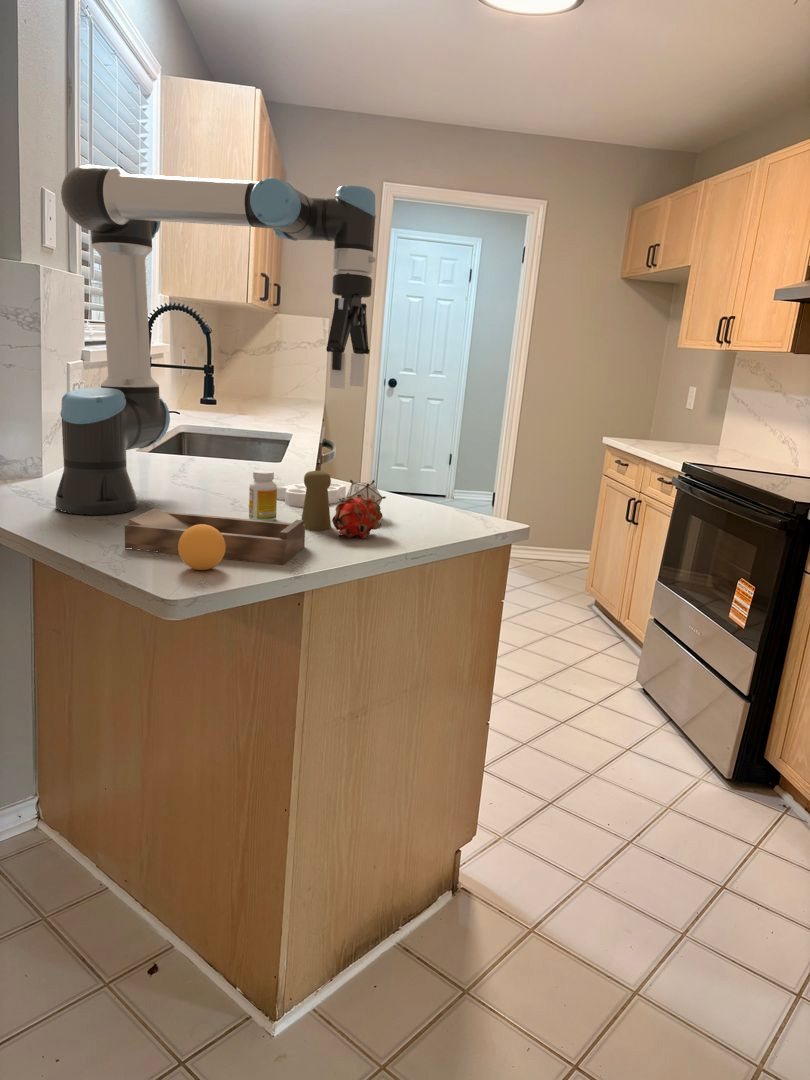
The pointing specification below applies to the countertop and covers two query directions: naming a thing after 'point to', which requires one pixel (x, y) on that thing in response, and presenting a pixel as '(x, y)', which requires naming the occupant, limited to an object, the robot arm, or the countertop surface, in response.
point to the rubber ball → (201, 547)
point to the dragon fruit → (357, 517)
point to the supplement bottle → (262, 496)
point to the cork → (316, 501)
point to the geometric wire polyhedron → (364, 491)
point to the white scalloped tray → (297, 492)
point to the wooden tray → (239, 534)
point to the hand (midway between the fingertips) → (347, 387)
